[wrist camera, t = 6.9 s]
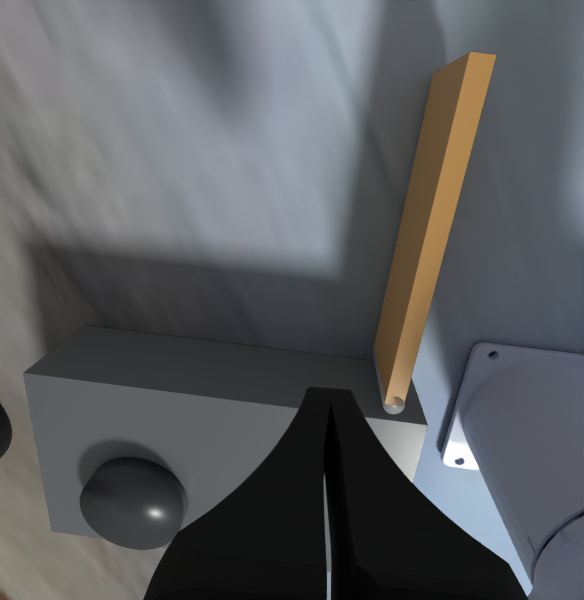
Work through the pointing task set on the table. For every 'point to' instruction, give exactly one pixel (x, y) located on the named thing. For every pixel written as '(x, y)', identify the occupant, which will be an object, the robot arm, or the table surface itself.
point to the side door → (428, 218)
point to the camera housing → (179, 426)
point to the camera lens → (4, 432)
